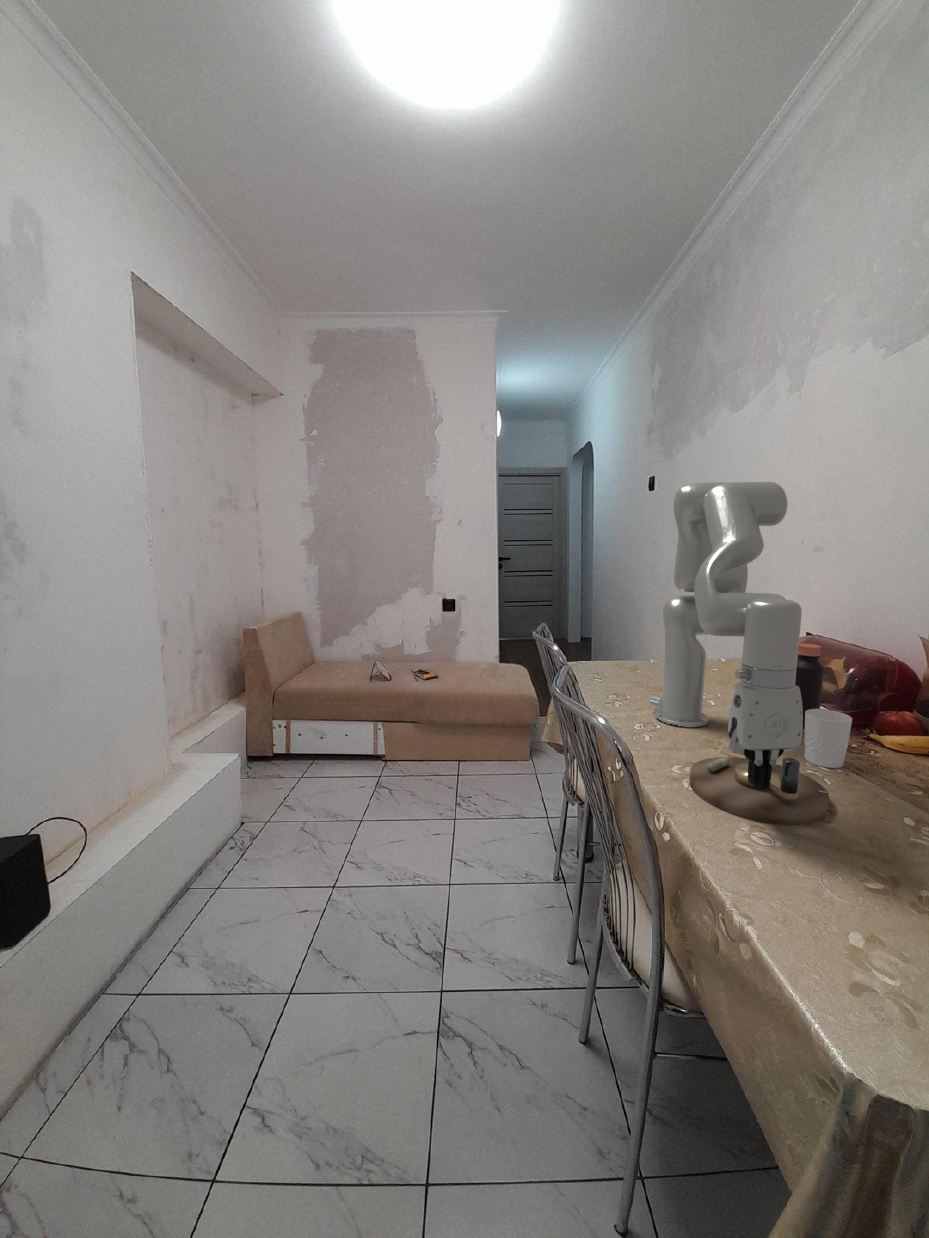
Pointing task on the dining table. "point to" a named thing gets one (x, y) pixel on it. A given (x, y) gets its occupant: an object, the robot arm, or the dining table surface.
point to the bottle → (809, 676)
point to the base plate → (756, 794)
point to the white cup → (826, 737)
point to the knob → (776, 778)
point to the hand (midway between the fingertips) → (758, 784)
